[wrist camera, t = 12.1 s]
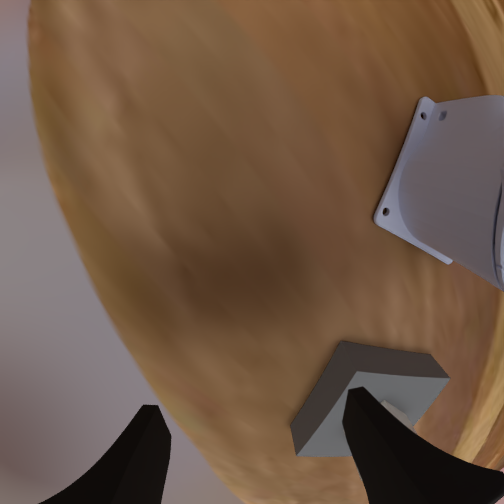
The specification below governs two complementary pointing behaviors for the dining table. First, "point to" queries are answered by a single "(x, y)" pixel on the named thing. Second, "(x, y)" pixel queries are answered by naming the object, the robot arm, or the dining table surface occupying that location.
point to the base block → (375, 381)
